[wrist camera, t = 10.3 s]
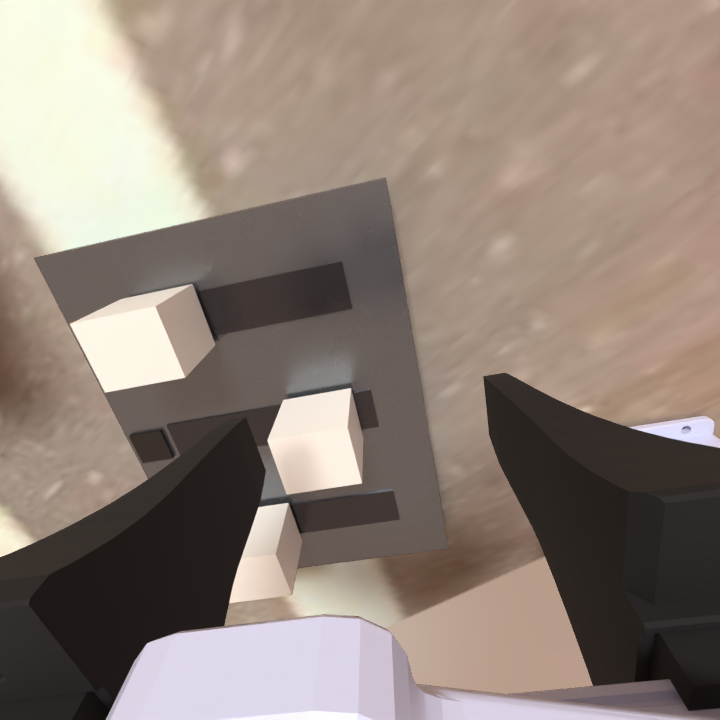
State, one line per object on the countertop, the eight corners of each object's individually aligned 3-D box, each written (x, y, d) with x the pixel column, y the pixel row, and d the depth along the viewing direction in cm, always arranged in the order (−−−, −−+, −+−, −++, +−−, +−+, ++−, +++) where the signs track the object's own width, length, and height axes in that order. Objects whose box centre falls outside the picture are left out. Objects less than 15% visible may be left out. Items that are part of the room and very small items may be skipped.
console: (384, 177, 19) (386, 177, 17) (443, 523, 27) (449, 551, 25) (64, 250, 20) (30, 258, 18) (211, 554, 29) (199, 583, 27)
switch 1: (192, 284, 18) (155, 306, 15) (215, 345, 20) (185, 377, 16) (120, 299, 19) (69, 324, 16) (147, 358, 20) (105, 392, 17)
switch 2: (288, 502, 23) (275, 554, 20) (302, 540, 25) (292, 595, 21) (230, 511, 24) (208, 563, 21) (246, 548, 25) (228, 603, 22)
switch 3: (351, 388, 20) (347, 427, 17) (363, 438, 22) (362, 483, 18) (283, 399, 21) (267, 440, 18) (299, 448, 22) (286, 494, 19)
